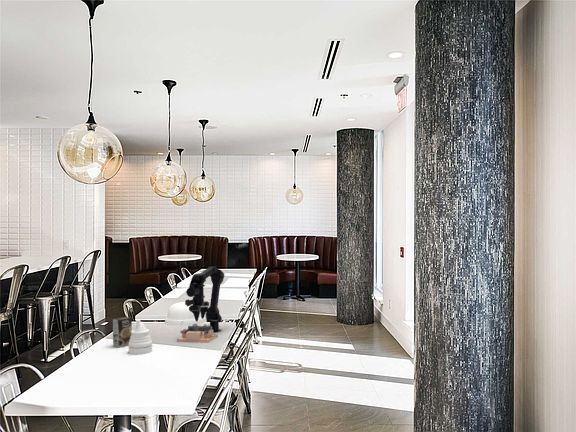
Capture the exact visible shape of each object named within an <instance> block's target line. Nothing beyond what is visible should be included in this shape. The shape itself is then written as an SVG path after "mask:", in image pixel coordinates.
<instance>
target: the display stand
mask: <svg viewBox="0 0 576 432" xmlns="http://www.w3.org/2000/svg"><path fill="white" fill-rule="evenodd" d="M185 330H187V328H183V329H182V330H179V331H180V334H181V336H180V337H178V338H176V342H178V343H179V342H181V343H209V342H211V341H213V340H215V339H216V338H218V337H219V335H218V333H217V334H216V333H214V332H213V330H210V331H209V332H208V334H206V335H205V334H204V333H203V332H202V331H188V332H186V334H183V331H185Z"/></svg>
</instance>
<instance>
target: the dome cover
mask: <svg viewBox="0 0 576 432" xmlns="http://www.w3.org/2000/svg"><path fill="white" fill-rule="evenodd" d="M192 305H193V304H192ZM190 306H191V305H190ZM190 306H188V307H187V305H185V301H178V302H175V303H173V304H172V305H171V306H170V307H168V310H167V314H166V317H165V319H164V324H166V325H168V326H174V327H175V326H176V327H177V326H179V327H184V326H192V325H193V324H197V325H201V324H204V323H205V324H206V323H208V322H207V320H206V314H205V316H204V318H203V319H202V318H201V312H200V315H199V318H198V321H196V320H195V317H194V314H193V313H192V312H190V311H189V307H190Z"/></svg>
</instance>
